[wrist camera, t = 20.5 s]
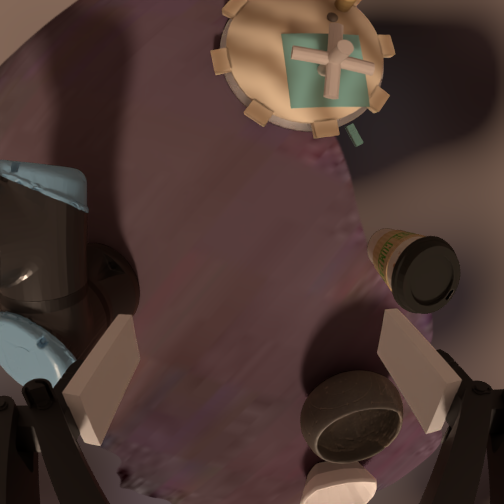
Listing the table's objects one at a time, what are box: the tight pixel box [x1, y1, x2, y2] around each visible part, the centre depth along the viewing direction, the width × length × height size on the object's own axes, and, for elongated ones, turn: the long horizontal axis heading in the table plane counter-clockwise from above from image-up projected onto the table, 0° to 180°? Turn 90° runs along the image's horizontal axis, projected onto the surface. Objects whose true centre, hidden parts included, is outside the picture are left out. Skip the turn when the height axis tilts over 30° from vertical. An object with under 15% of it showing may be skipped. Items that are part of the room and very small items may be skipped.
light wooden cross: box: [291, 23, 375, 99], centre depth 32 cm, size 10×10×10 cm
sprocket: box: [211, 0, 395, 139], centre depth 34 cm, size 26×26×9 cm
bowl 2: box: [300, 461, 377, 504], centre depth 59 cm, size 18×18×9 cm
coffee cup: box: [367, 228, 460, 314], centre depth 41 cm, size 10×10×15 cm
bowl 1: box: [300, 370, 403, 464], centre depth 49 cm, size 18×18×13 cm
